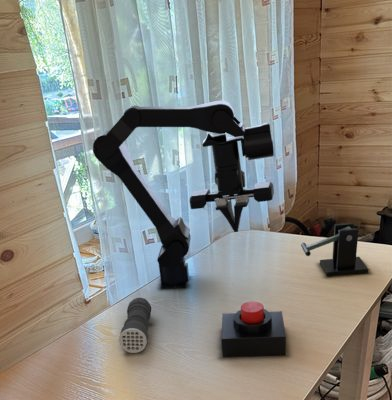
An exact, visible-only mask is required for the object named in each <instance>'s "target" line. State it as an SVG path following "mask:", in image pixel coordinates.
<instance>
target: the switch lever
mask: <svg viewBox="0 0 392 400" xmlns="http://www.w3.org/2000/svg"><path fill="white" fill-rule="evenodd" d="M343 229H351V228H350V227H349V226H348V227H345V228H343ZM343 229H340V230H343ZM338 233H339V230H338ZM337 240H338V234H337V235H334V234H333V235H331V236H330V237H326V238H324V239H322V240H319V241H316V242H313V243H311V244H308V245H307V244H306V243H305V242H302V243H301V244H300V247H301V248H302V251H303V252H304V255H305V256H306V257H310V256H311V251H312V250H315V249H318V248H320V247H324V246H326V245H328V244H331V243H333V242H334V241H337Z"/></svg>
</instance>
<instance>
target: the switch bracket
mask: <svg viewBox="0 0 392 400" xmlns="http://www.w3.org/2000/svg"><path fill="white" fill-rule="evenodd" d="M333 226H334V227H333V236H334V235H337V234H338V240H337V241H334V242H332V243H333V244H332V245H333V246H332V257H331V258H327V259H325V258H324V259H319V266H320V268H321V269H322V271H323V273H324V275H325V276H326V277H327V278H330V277H342V276H353V275H364V274H367V275H368V274H369V267H368V266H367V264H365V262H364V261H363V260H362V258H361V257H360V256H357V251H358V241H359V229H358V227H355V228H354V226H355V224H354V223H353V222H347V223H346V222H345V223H335V224H334V225H333ZM348 226H349V227H350V228H351V229H343V228H345V227H348ZM340 229H343V230H340ZM338 230H339V233H338Z"/></svg>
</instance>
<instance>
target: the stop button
mask: <svg viewBox="0 0 392 400" xmlns="http://www.w3.org/2000/svg"><path fill="white" fill-rule="evenodd" d="M264 309H265V306H264V304H263V303H261V302H259V301H247V302H244V303H243V304H241V305H240V310H241V320H242V321H243V322H247V323H257V322H260V321H262V320H263V319H264Z"/></svg>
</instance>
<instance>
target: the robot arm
mask: <svg viewBox="0 0 392 400" xmlns="http://www.w3.org/2000/svg"><path fill="white" fill-rule="evenodd" d="M137 128H192V129H196V130H199V131H203V132H207V134H206V137H205V138H204V140H203V141H202V147H203V148H206V147H211V152H212V158H213V159H212V160H213V165H214V183H215V185H216V186H217V192H211V191H210V188H205V189H197V190H193V191H194V192H193V193H192V194H191V196H190V197H189V206H190V210H198V209H204V208H205V206H206V205H207V203H215V207H214V209H215V211H220V213H221V214H222V215H223V217H224V218H225V219H226V221H227V223H228V224H229V225H230V227H231V229H232V231H233V232H234V233H238V232H239V229H240V225H241V223H240V222H241V217H242V212H243V209H244V208H247V207H248V206H249V203H250V198H253V199H254V200H255V201H256V202H257V203H260V202H270V201H273V198H274V194H275V189H274V184H273V183H272V182H271V181H264V182H255V184H254V187H253V188H245V187H246V175H245V171H243V170H242V165H241V159H240V157H241V156H240V150H239V149H240V148H239V142H240V147H241V153H242V157H245V159H247V160H248V161H254V160H259V159H265V158H273V157H274V156H275V153H274V141H273V139H272V132H271V124H270V123H269V122H265V123H261V124H259V125H253V126H248V127H245V125H243V122H241V121H240V120H239V119H238V118H237V117H236V116H235V110H234V107H233V106H232V105H231V104H230V103H229V101H227V100H222V99H221V100H220V99H219V100H215V101H210V102H204V103H202V104H198V105H193V106H139V105H137V104H136V105H135V104H134V105H131V106H129V107H128V108H127V109H125V111H124V112H123V115H122V116H121V117H120V118H119V120H117V122H116V123H115V124H114V125H113V126H112V128H110V129H109V130H105V131H103V132H102V133H101V134H100V135H98V136H97V137H96V138H95V139H94V142H93V144H92V153H93V156H94V157H95V158H96V160H98V161H99V162H100V163H101V165H103V167H105V169H107V170H108V171H109V172H111V173H112V174H113V175H115V176H117V178H119V180H120V181H121V182H122V184H123V185H124V187H125V188H126V189H127V191H128V192H129V193H130V194H131V196H132V198H133V199H134V200H135V202H136V203H137V204H138V206H139V207H140V208H141V209H142V211H143V212H144V214H145V215H146V216H147V218H148V219H149V220H150V222H151V223H152V225H153V226H154V228H155V229H156V232H157V235H158V238H159V240H160V241H159V242H160V243H161V247H160V249H159V252H158V256H157V260H156V261H157V263H158V270H159V277H160V285H159V288H160V289H180V288H181V289H182V288H186V287H187V284H188V283H189V282H190V281H189V280H190V273H189V263H188V262H186V255H188V252H189V250H190V245H191V239H192V238H191V233H190V232H191V229H190V228H189V227H188V226H187V225H186V224H185V222H184V220H183V218H182V216H179V217H178V218H175V217H172V216H171V215H170V214H169V212H168V211H167V210H166V208H165V206H164V205H163V204H162V202H161V201H160V199H159V198H158V196H156V194H155V192H154V191H153V189H152V188H151V186H149V184H148V183H147V181H146V180H145V178H144V177H143V176H142V174H141V173H140V171H139V170H138V168H137V166H135V164H134V161H133V159H132V156H131V153H130V150H129V148H128V146H127V144H126V142H125V141H126V140H127V139H128V138H129V137H130V136H131V135H132V134H133V133H134V132H135V130H136V129H137ZM214 134H215V135H214ZM227 134H228V135H230V136H227ZM232 200H234V201H235V203H234V205H233V204H232Z"/></svg>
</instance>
